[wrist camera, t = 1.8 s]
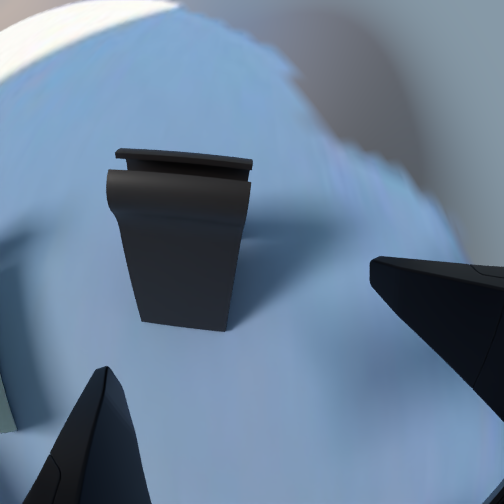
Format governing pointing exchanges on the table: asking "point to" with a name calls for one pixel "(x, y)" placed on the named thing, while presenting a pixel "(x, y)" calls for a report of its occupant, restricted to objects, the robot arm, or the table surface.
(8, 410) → the pale green curved block
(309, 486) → the table surface
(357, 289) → the table surface
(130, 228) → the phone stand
